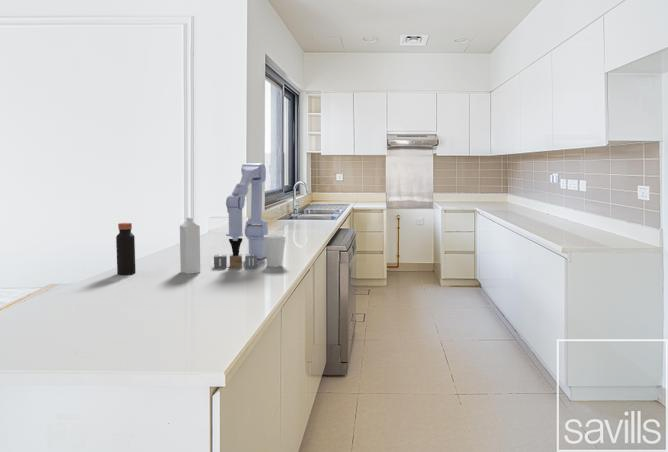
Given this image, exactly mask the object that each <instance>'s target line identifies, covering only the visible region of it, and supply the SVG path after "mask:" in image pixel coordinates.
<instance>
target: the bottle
mask: <svg viewBox="0 0 668 452" xmlns="http://www.w3.org/2000/svg"><path fill="white" fill-rule="evenodd" d="M132 225H133V223H131V222H120V223H118V224H117V226H118V234H117V235H116V236H115V240H116V242H115V244H116V245H115V246H116V270H117V275H119V276H131V275H134V274H136V249H135V248H136V243H135V242H136V241H135V238H136V237H135V235H134V234H133V233H132V229H133V227H132Z"/></svg>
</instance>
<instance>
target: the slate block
mask: <svg viewBox="0 0 668 452" xmlns="http://www.w3.org/2000/svg"><path fill="white" fill-rule="evenodd" d="M244 257H245V260H244V264H245V267H244V268H249V269H251V268H258V259H257V254H249V253H248V254H247V253H246V254H245V256H244Z"/></svg>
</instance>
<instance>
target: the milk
mask: <svg viewBox="0 0 668 452" xmlns="http://www.w3.org/2000/svg"><path fill="white" fill-rule="evenodd" d="M200 232H201V231H200V225H198V224H196V223H195V222H194V221H193V218H191V217H186V221H184V222H183V223H181V224H180V225H179V249H180V250H179V251H180V253H179V254H180V255H179V256H180V257H179V260H180V261H179V262H180V273H182V274H184V275H191V274H198V273H199V274H200V273H201V233H200Z"/></svg>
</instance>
